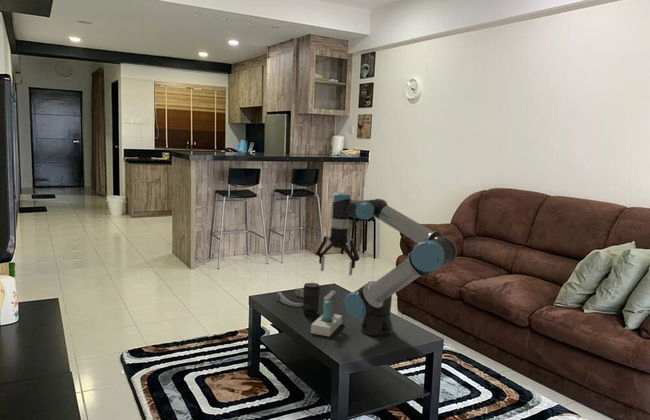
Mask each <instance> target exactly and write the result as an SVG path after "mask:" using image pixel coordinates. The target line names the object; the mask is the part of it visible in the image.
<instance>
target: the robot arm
mask: <svg viewBox="0 0 650 420" xmlns="http://www.w3.org/2000/svg"><path fill="white" fill-rule="evenodd" d="M332 201H333V202H332V215H331V225H330V226H331V229H330V236H329V235H325V236H324V237H323V240H322V242H321V244H320V246H319V247H318V248H317V251H316V252H315V256H318V258H319V260H318V263H319V264H320V272H324V271H325V257H326V256H325V255H326V253H327V252H328V251H329V250H330V249H331V248H333V247H334V248H335V249H337V248H338V249H343V250H344V251H345V253H346V254H347V256H348V258H349V259H350V262H349V271H348V276H350V277H351V276H352V275H353V269H354V268H356V267H355V266H356V262H358V261H359V260H360V255H359V253H358V250H357V248H356V245H355V240H354V239H353V238H352V239H348V232H349V229H348V228H349V221H350V220H349V218H350V217H352V218H357V219H360V220H369V219H371V218H372V217H374V218H376V219H377V220H379V221H381V222H382V223H384V224H386V225H388V226H389V227H390V228H392V229H394V230H396V231H397V232H399V233H400V234H402V235H404V236H406V237H407V238H409V239H411V240H412V241H413V242H416V243H417V244H416V245H414V248H413V249H412V251H410V252H409V253H408V254H407V258H406V259H404V261H402V262H401V263H399V264H398V265H397V266H395V267H394V268H392V269H391V270H390V271H388V272H387V273H385V274H384V275H383V276H381V277H380V278H378V279H377V280H370V281H368V282H367V283H365V284H364V285H362V286H361V287H360V288H359V289H356V290H355V291H352V292H349V293H348V294H347V295H346V297H345V298H344V301H345V303H344V307H345V310H346V312H347V313H348V314H349V316H351V318H354V319H356V320H357V319H358V320H359V319H362V320H361V323H360V331H361V333H363V334H366V335H367V336H370V337H379V338H382V337H389V336H392V334H393V332H394V327H393V322H392V321H393V320H392V317H391V310H392V299H393V298H392V297H393V295H394V294H395V293H397V292H398V291H400V290H402V289H403V288H405V287H406V286H408V285H409V284H411V283H412V282H414V281H416V279H418V278H420V277H422V278H427V277H428V276H429V275H431V274H433V273H434V272H435V271H437V270H439V269H440V268H444V267H446V266H449V265H451V264H452V263H453V262H454V261H455V259H457V254H458V248H457V246H456V244H455V242H454V241H453V239H451V238H449V237H448V236H447V235H445V234H443V233H441V232H439V231H437V230H435V231H432V230H431V229H430V228H428V227H426V226H424V225H422V224H421V223H419V222H417V221H415V220H414V219H413V218H410V217H409V216H407V215H405V214H403V213H401V212H400V211H398V210H397V209H395V208H393V207H391V206H389V205H388V203H387V201H386V200H384V199H381V198H375V199H366V200H355V199H351V194H349V193H345V192H343V193H342V192H337V193H335V194H334V195H333V200H332ZM327 242H330V244H328V246H327V247H326V248H325V249H324V247H325V245H326V243H327ZM347 243H348V245H350V249H351V250H350V249H349V247H348V245H347ZM323 249H324V250H323ZM351 251H352V252H351Z"/></svg>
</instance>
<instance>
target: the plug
mask: <svg viewBox="0 0 650 420" xmlns="http://www.w3.org/2000/svg"><path fill="white" fill-rule="evenodd" d="M322 310H323V313H322V314H323V317H322V320H323V321H325V322H330V323H331V321H332V320H333V318H332V302H331V300H328V301H323V309H322Z"/></svg>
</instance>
